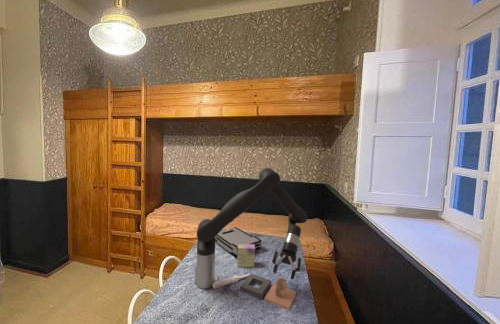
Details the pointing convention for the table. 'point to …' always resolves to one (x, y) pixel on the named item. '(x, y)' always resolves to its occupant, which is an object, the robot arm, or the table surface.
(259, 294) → the pocket frame
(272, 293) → the terracotta tile
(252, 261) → the box
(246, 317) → the table surface
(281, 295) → the oak block
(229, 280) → the toothed blade
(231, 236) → the game console
